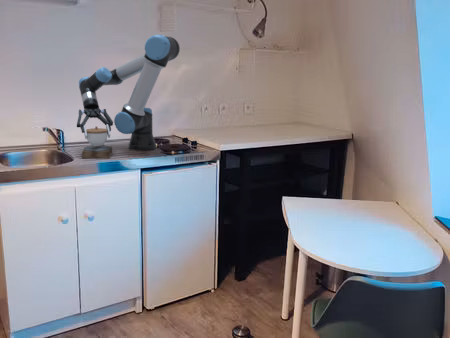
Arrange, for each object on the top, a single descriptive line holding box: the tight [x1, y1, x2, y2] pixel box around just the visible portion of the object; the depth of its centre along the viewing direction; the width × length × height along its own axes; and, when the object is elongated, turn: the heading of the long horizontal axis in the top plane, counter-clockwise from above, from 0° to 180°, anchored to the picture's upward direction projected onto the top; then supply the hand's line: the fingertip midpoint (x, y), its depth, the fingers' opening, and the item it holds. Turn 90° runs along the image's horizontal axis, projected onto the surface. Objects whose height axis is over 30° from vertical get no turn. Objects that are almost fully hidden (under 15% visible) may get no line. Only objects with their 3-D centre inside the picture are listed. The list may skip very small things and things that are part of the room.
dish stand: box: [81, 144, 113, 159], centre depth 213 cm, size 13×13×4 cm
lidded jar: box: [86, 126, 108, 146], centre depth 211 cm, size 11×11×9 cm
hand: (98, 136), depth 208 cm, fingers closed on lidded jar, 11 cm apart
